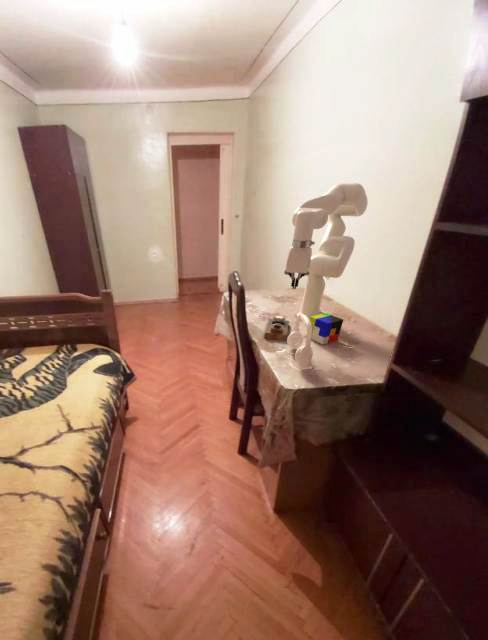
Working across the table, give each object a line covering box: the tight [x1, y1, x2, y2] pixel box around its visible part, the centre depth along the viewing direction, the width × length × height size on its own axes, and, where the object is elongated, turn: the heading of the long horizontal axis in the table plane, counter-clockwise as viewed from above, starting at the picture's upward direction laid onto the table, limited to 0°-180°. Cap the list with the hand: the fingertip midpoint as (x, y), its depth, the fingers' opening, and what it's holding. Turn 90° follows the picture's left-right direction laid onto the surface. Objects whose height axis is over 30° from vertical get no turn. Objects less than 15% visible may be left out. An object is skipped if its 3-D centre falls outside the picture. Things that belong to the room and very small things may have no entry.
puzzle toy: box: [305, 312, 344, 345], centre depth 147 cm, size 10×10×10 cm
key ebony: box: [274, 323, 281, 328], centre depth 150 cm, size 3×3×2 cm
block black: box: [267, 316, 290, 328], centre depth 161 cm, size 10×10×4 cm
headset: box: [286, 314, 314, 370], centre depth 127 cm, size 20×7×18 cm, turn 176°
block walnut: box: [264, 324, 289, 342], centre depth 152 cm, size 10×10×4 cm
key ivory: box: [275, 315, 284, 321], centre depth 160 cm, size 3×3×2 cm
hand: (294, 288), depth 145 cm, fingers closed
